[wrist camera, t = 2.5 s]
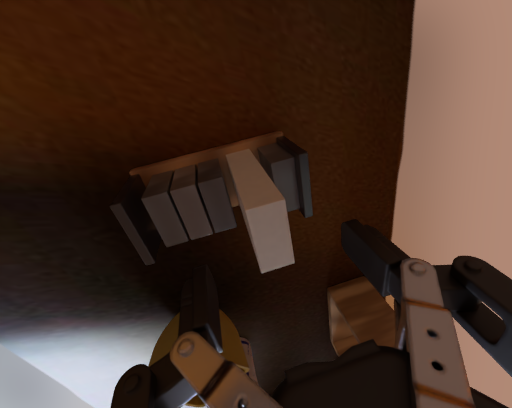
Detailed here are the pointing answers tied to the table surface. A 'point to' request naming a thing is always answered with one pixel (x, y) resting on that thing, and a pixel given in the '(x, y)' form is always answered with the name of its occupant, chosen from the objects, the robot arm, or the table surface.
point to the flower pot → (230, 352)
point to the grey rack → (204, 192)
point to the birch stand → (359, 315)
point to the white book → (262, 211)
